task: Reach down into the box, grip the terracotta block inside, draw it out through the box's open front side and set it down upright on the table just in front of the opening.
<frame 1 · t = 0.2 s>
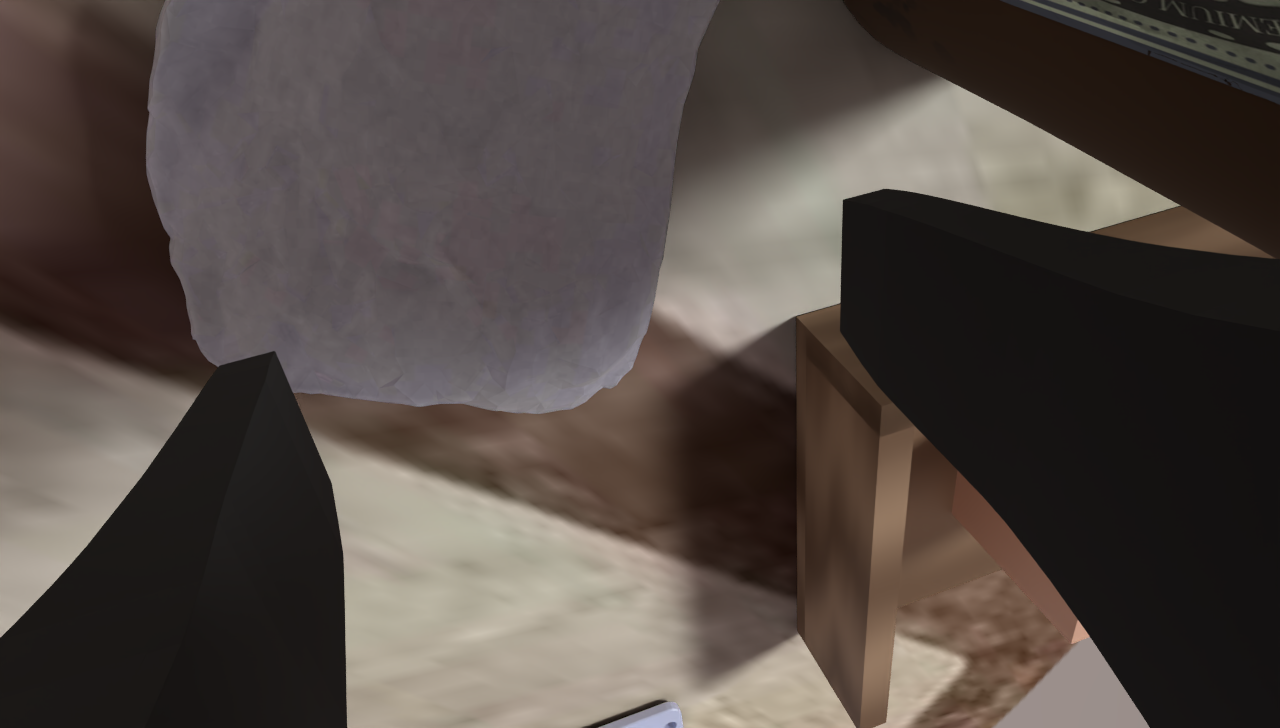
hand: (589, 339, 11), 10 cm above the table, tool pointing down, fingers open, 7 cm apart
stone block: (413, 102, 19), on the table
box: (1005, 425, 31), on the table
block: (1014, 447, 31), point 1 cm above the table, touching box
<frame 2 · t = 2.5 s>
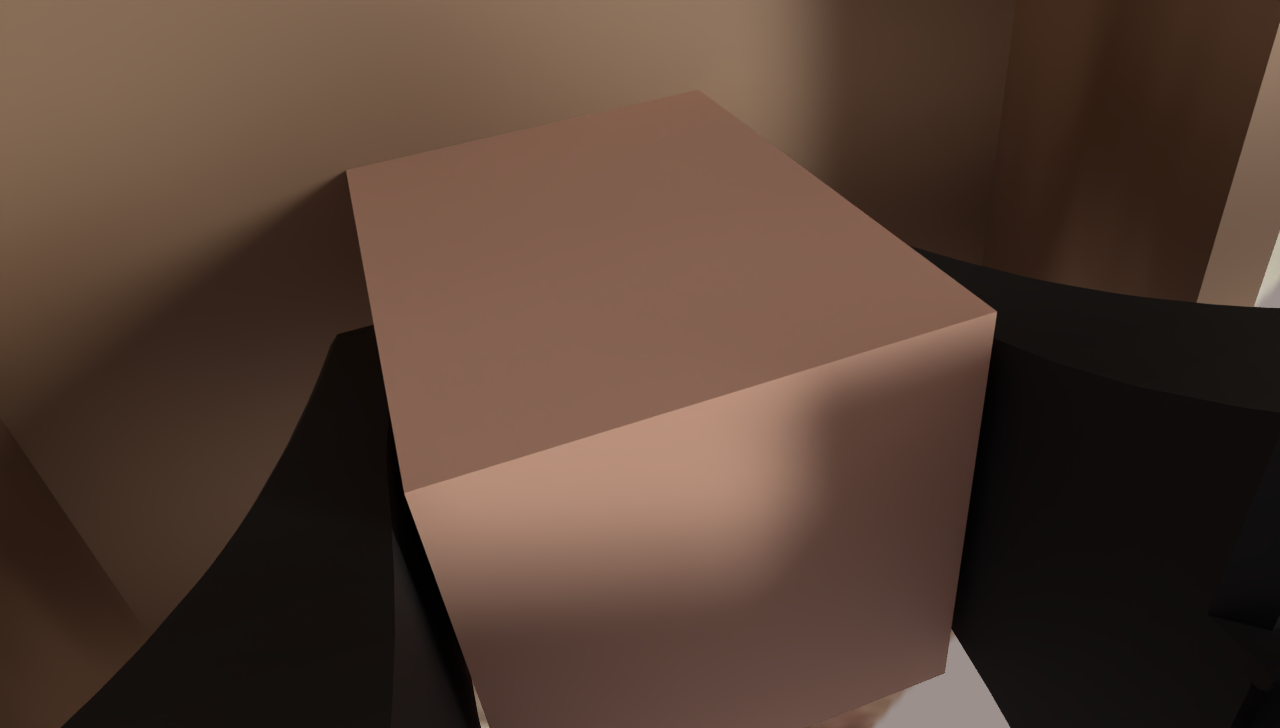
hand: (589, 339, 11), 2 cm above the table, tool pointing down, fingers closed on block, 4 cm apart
box: (542, 234, 12), on the table
block: (559, 284, 12), point 1 cm above the table, touching box, gripper
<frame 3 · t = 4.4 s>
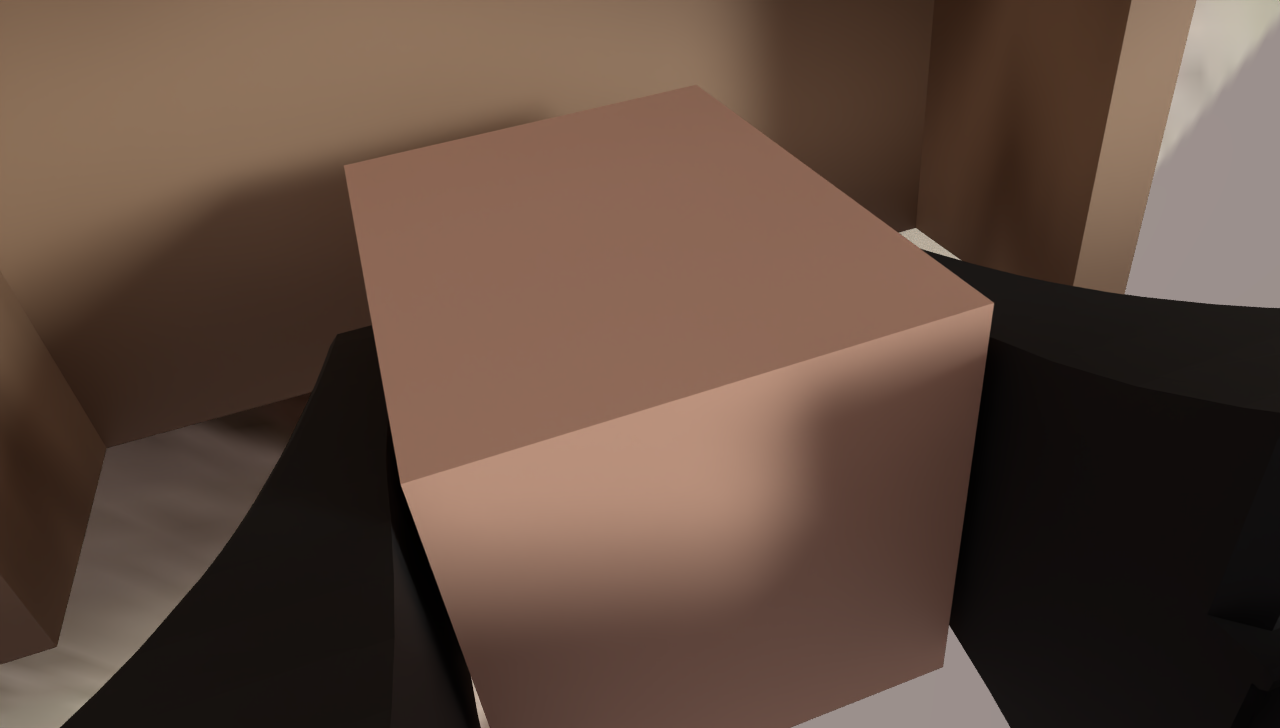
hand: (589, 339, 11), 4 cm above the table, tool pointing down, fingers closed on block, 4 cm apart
block: (557, 280, 12), point 3 cm above the table, touching gripper
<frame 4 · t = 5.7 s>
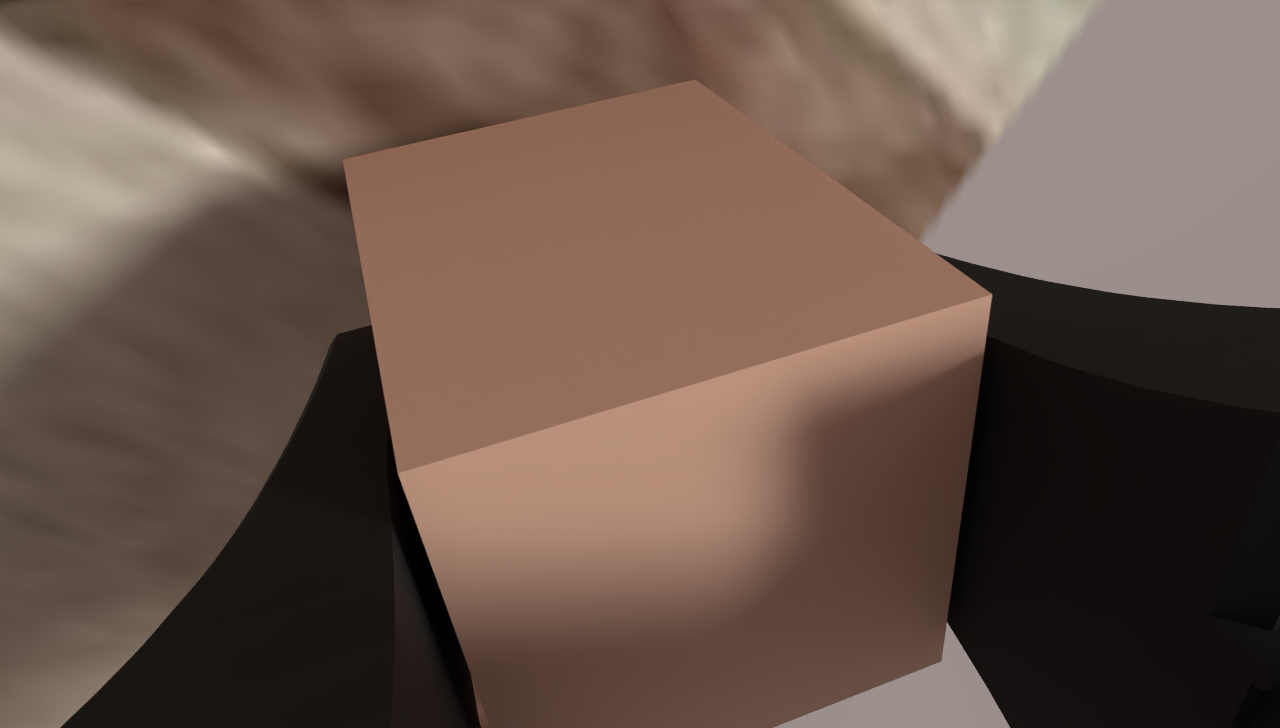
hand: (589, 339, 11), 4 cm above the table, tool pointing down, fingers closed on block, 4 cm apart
block: (556, 275, 12), point 2 cm above the table, touching gripper
when the fingers open (3 cm above the table, at t = 6.4 s): block drops 1 cm, on the table.
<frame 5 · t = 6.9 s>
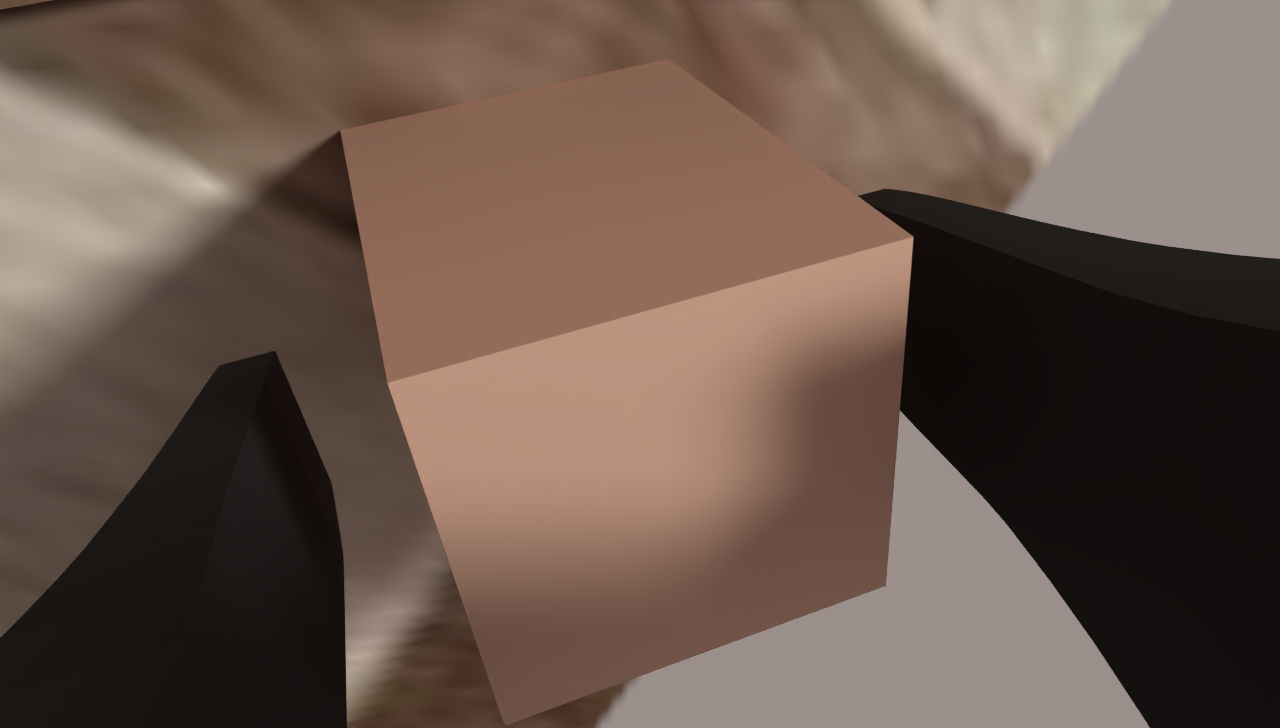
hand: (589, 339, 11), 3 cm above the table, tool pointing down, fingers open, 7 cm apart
block: (539, 242, 13), on the table
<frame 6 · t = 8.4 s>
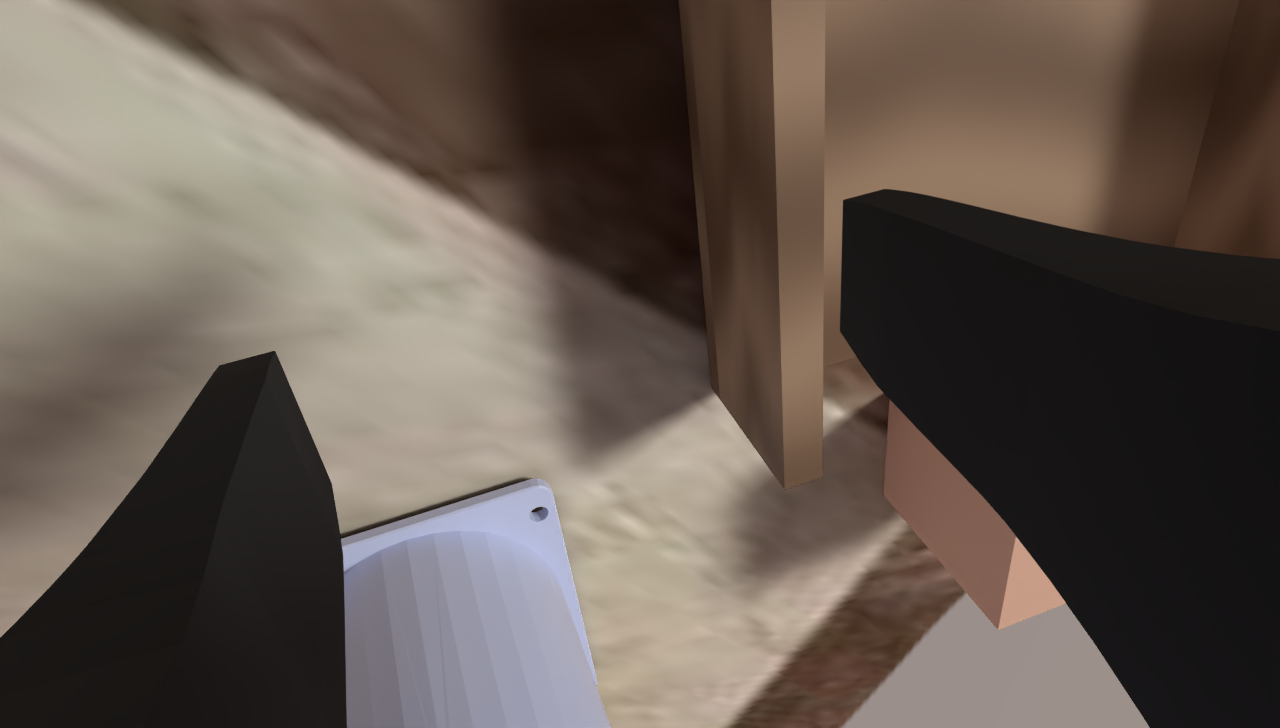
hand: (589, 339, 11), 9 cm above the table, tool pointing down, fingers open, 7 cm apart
box: (987, 75, 22), on the table
block: (947, 423, 29), on the table
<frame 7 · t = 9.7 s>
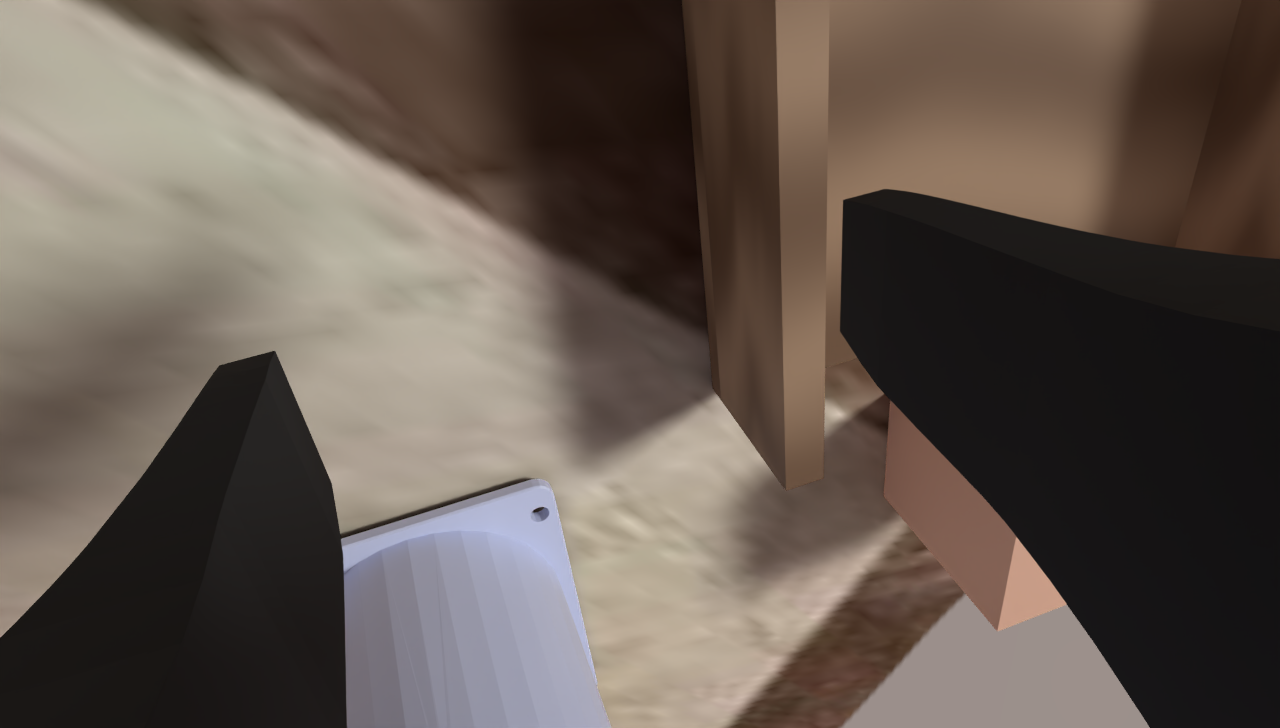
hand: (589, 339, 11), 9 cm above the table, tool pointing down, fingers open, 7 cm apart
box: (989, 77, 22), on the table
block: (947, 424, 29), on the table
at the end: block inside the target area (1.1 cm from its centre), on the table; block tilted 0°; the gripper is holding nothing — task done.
